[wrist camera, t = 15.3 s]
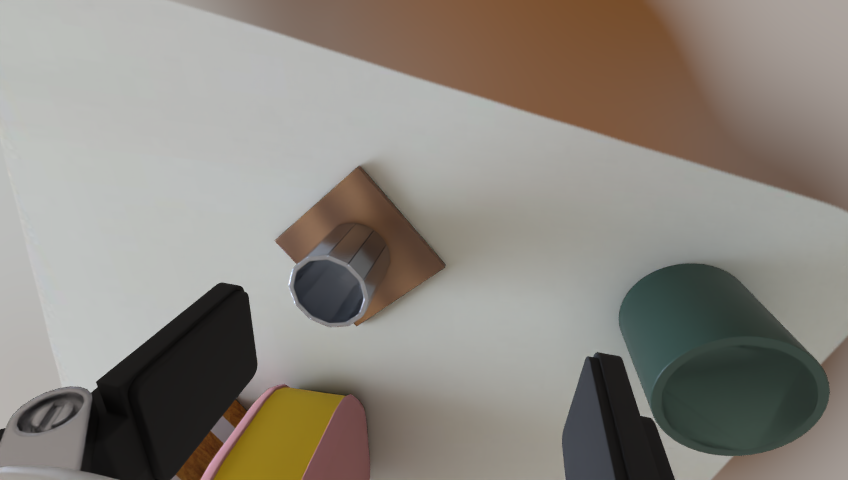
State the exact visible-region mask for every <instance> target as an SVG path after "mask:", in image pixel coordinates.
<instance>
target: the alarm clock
mask: <svg viewBox="0 0 848 480" xmlns="http://www.w3.org/2000/svg"><path fill="white" fill-rule="evenodd" d="M201 480H370V457H369V446H368V434H367V422H366V415H365V410H364V407H363V406H362V404H361V402H360V401H359V400H358V399H357V398H356V397H354V396H353V395H352V394H349V395H347V396H344V395H337V394H330V393H323V392H316V391H309V390H302V389H295V388H290V387H288V386H287V385H285V384H282V385H277V386H274V387H271V388H269V389H268V390H266V391H265V392H264V393H263V394H262V395H261V396H260V397H259V398H258V399H257V400H256V401H255V402H254V403H253V405H252V406H251V408H250V409H249V410H248V412H247V413H246V414H245V416H244V417H243V419H242V420H241V421H240V423H239V424H238V425H237V427H236V428H235V430H234V431H233V432H232V434H231V435H230V436H229V438H228V439H227V441H226V442H225V443H224V445H223V446H222V447H221V449H220V450H219V452H218V453H217V454H216V456H215V457H214V458H213V460H212V461H211V463H210V464H209V466H208V468H207V469H206V471H205V473H204V474H203V476H202V478H201Z"/></svg>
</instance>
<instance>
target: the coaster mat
mask: <svg viewBox="0 0 848 480" xmlns="http://www.w3.org/2000/svg"><path fill="white" fill-rule="evenodd" d="M345 223H359V224H363V225H366V226H368V227H370V228H372V229H373V230H375V231H376V232H377V233H378V234H379V235H380V236H381V237H382V238H383V239H384V241H385V242H386V244H387V246H388V249H389V252H390V260H391V261H390V265H389V269H388V271H387V274H386V276H385V278H384V280H383V282H382V283H381V285H380V287H379V289H378V291H377V292H376V294H375V296H374V298H373V300H372V301H371V303H370V305H369V307H368V308H367V310H366V312H365V314H364V316H363V317H361V318H360V319H358V320H357V321H355V322H354V324H355V325H356V326H358V325H359V324H361V323H362V322H364V321H365V320H367V319H368V318H370V317H371V316H373V315H374V314H376V313H377V312H379V311H380V310H382V309H383V308H385V307H386V306H388V305H389V304H391V303H392V302H394V301H395V300H397V299H398V298H400V297H401V296H403V295H404V294H406V293H407V292H409V291H410V290H412V289H413V288H415V287H416V286H418V285H419V284H421V283H422V282H424V281H425V280H427V279H428V278H430V277H431V276H433V275H434V274H436V273H437V272H439V271H440V270H442V269H443V268H445V264H444V262H443V261H442V260H441V259H440V258H439V257H438V255H437V254H436V253H435V252H434V251H433V250H432V249H431V247H430V246H429V245H428V244H427V243H426V242H425V240H424V239H423V238H422V237H421V236H420V235H419V234H418V232H417V231H416V230H415V229H414V228H413V227H412V225H411V224H410V223H409V222H408V221H407V220H406V218H405V217H404V216H403V215H402V214H401V213H400V212H399V210H398V209H397V208H396V207H395V206H394V205H393V203H392V202H391V201H390V200H389V199H388V198H387V197H386V195H385V194H384V193H383V192H382V191H381V190H380V188H379V187H378V186H377V185H376V184H375V183H374V181H373V180H372V179H371V178H370V177H369V176H368V175H367V173H366V172H365V171H364V170H363V169H362V168H361V166H358V167H357V168H356V169H355V170H354V171H352V172H351V173H350V174H349V175H348V176H347V177H346V178H345V179H343V180H342V181H341V182H340V183H339V184H338V185H337V186H336V187H334V188H333V189H332V190H331V191H330V192H329V193H328V194H327V195H325V196H324V197H323V198H322V199H321V200H320V201H319V202H318V203H316V204H315V205H314V206H313V207H312V208H311V209H310V210H308V211H307V212H306V213H305V214H304V215H303V216H302V217H301V218H299V219H298V220H297V221H296V222H295V223H294V224H293V225H292V226H290V227H289V228H288V229H287V230H286V231H285V232H284V233H283V234H281V235H280V236H279V237H278V238H277V239H276V240H275V242H276V243H277V244H278V245H279V246H280V247H281V248H282V249H283V250H284V251H285V252H286V253H287V254H288V255H289V256H290V257H291V259H292V260H293V261H294V262H295V263H296V264H298V263H299V262H300V261H301V260H302V259H303V258H304V257H305V256H306V255H307V254H308V253H309V252H310V251H311V250H312V249H313V248H314V247H315V246H316V245H317V244H318V243H319V242H320V241H321V240H322V239H323V238H324V237H325V236H326V235H327V234H328V233H329V232H330V231H331V230H332V229H334V228H335V227H336V226H337V225H341V224H345Z"/></svg>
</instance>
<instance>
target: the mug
mask: <svg viewBox="0 0 848 480" xmlns="http://www.w3.org/2000/svg"><path fill="white" fill-rule="evenodd" d="M246 413H247V411H246V410H245V409H244V408H243V407H242V405H241V404H240V403H239V402H238V401H237V400H236V399H235V401H234V402H233V403H232V404H231V406H230V407H229V408H228V409H227V411H226V412H225V413H224V414H223V416H222V417H221V418H220V419H219V421H218V422H217V423H216V425H215V426H214V427H213V428H212V430H211V431H210V432H209V433H208V435H207V436H206V437H205V438H204V440H203V441H202V442H201V443H200V445H199V446H198V447H197V448H196V450H195V451H194V452H193V453H192V455H191V456H190V457H189V459H188V460H187V461H186V462H185V464H184V465H183V466H182V467H181V469H180V470H179V471H178V472H177V474H176V475H175V476H174V477H173V478H172V479H171V480H201V478H202V476H203V474H204V473H205V471H206V469H207V468H208V466H209V464H210V463H211V461H212V460H213V458H214V457H215V456H216V454H217V453H218V452H219V450H220V449H221V447H222V446H223V445H224V443H225V442H226V441H227V439H228V438H229V436H230V435H231V434H232V432H233V431H234V430H235V428H236V427H237V425H238V424H239V423H240V421H241V420H242V419H243V417H244V416H245V414H246Z"/></svg>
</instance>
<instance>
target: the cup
mask: <svg viewBox="0 0 848 480" xmlns="http://www.w3.org/2000/svg"><path fill="white" fill-rule="evenodd" d="M390 261H391V260H390V252H389V249H388V246H387V244H386V242H385V241H384V239H383V238H382V237H381V236H380V235H379V234H378V233H377V232H376V231H375V230H373V229H372V228H370V227H368V226H366V225H363V224H359V223H345V224H341V225H337V226H336V227H335V228H334V229H332V230H331V231H330V232H329V233H328V234H327V235H326V236H325V237H324V238H323V239H322V240H321V241H320V242H319V243H318V244H317V245H316V246H315V247H314V248H313V249H312V250H311V251H310V252H309V253H308V254H307V255H306V256H305V257H304V258H303V259H302V260H301V261H300V262H299V263H298V264H297V265H296V266H295V267H294V268H293V269H292V273H291V278H290V282H289V288H290V291H291V294H292V297H293V300H294V303H295V304H296V306H297V307H298V308H299V309H300V310H301V311H302V312H303V313H304V314H305V315H306V316H307V317H308V318H309V319H311V320H313V321H316V322H318V323H320V324H323V325H325V326H328V327H342V326H350V325H351V324H353V323H354V322H355V321H357V320H358V319H360V318H361V317H363V316H364V314H365V312H366V310H367V308H368V307H369V305H370V303H371V301H372V300H373V298H374V296H375V294H376V292H377V291H378V289H379V287H380V285H381V283H382V282H383V280H384V278H385V276H386V274H387V271H388V269H389V265H390Z"/></svg>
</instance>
